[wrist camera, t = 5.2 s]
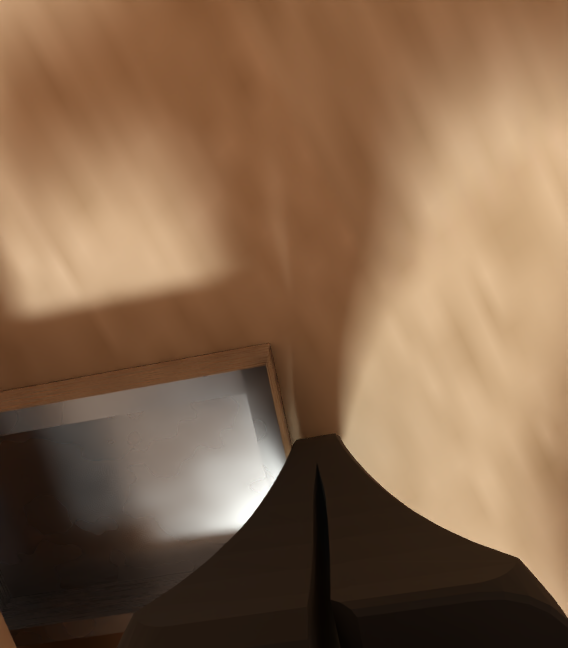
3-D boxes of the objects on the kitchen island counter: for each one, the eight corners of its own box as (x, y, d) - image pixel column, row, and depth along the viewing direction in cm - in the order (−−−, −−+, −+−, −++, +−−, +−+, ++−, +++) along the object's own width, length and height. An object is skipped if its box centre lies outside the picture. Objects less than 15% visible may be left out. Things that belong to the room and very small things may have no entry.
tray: (270, 343, 12) (265, 365, 10) (314, 554, 14) (317, 604, 12) (-70, 404, 13) (-129, 435, 11) (12, 599, 14) (-27, 653, 12)
